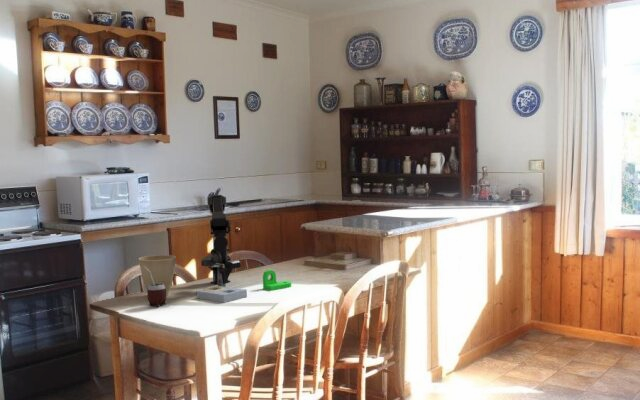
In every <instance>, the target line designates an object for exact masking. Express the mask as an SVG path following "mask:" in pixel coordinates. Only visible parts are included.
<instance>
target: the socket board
mask: <svg viewBox="0 0 640 400" xmlns="http://www.w3.org/2000/svg"><path fill="white" fill-rule="evenodd" d="M247 293H248V290H247V289H245V288H238V287H230V286H226V287H224V286H218V285H217V286H212V287H211V286H210V287H207V288H202V289H200V290H196V294H197V295H196V298H197V299H200V300H205V301H211V302H217V303H222V304H225V303H226V304H227V303H229V302H233V301H237V300H241V299H245V298H247V297H248V294H247Z"/></svg>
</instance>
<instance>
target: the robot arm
mask: <svg viewBox="0 0 640 400" xmlns="http://www.w3.org/2000/svg"><path fill="white" fill-rule="evenodd" d="M206 203H207V208H208V211H209V213H210V214H211V220H209V231H210V232H209V233H210V235H213V236H212V243H213V244H212V245H213V246H212V247H213V249H211V250H210V253H209V254H207V255H206V256H205V257H203V258H202V260H201V262H200V263H201V266H202V267H207V268H208V269H210V271H212V281H210V283H211V284H217V285H218V275H217V267H223V268H221V269H220V270H221V271H222V278H223V284H227V283H230V282H231V280H229V278H230V277H229V276H230V274H231V273H232V271H233V269H238V268H241V267H242V265H241V264H242V262H241V261H240V260H234V259H231V257H230V255H228V252H230V248H228V244H229V241H228V238H227V237H228V236H227V235H228V234H230V232H231V224H230V223H231V222H230V220H229V219H227V218H228V217H227V214H226V213H225V209H226V208H225V207H227V197H226V196H224V195H222V194H212V195H211V196H209V197H207V202H206Z"/></svg>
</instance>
